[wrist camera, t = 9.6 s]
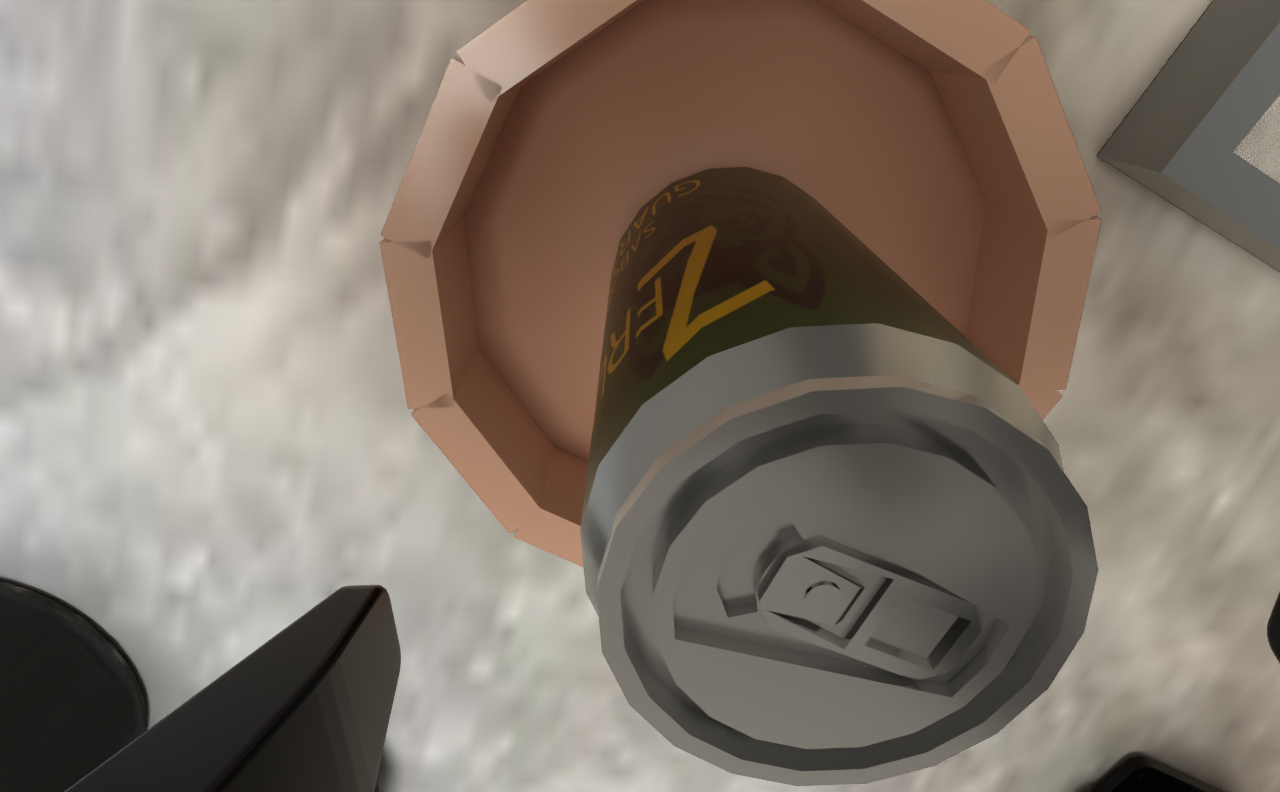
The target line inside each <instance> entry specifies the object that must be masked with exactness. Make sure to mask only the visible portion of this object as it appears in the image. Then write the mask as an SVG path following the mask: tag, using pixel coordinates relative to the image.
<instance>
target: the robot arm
mask: <svg viewBox="0 0 1280 792" xmlns="http://www.w3.org/2000/svg"><path fill="white" fill-rule="evenodd" d="M1267 637H1268V642H1269V644H1270V647H1271V649H1272V651H1273V653H1274V655H1275V656H1276V658H1277V660H1278V661H1279V663H1280V592H1279V594H1278V597H1277V600H1276V602H1275V605H1274V607H1273V610H1272V613H1271V615H1270V618H1269V621H1268V624H1267ZM400 664H401V652H400V645H399V640H398V635H397V630H396V625H395V620H394V616H393V611H392V606H391V601H390V597H389V594H388V592H387V591H386V589H385V588H383V587H382V586H380V585H356V586H345V587H342V588H340V589H339V590H337V591H335V592H334V593H333V594H331V595H330V596H329V597H327V598H326V599H325V600H323V601H322V602H321V603H319V604H318V605H317V606H315V607H314V608H312V609H311V610H310V611H308V612H307V613H306V614H304V615H303V616H302V617H300V618H299V619H298V620H296V621H295V622H293V623H292V624H291V625H289V626H288V627H287V628H285V629H284V630H283V631H281V632H280V633H279V634H277V635H276V636H275V637H273V638H272V639H270V640H269V641H268V642H266V643H265V644H264V645H262V646H261V647H260V648H258V649H257V650H256V651H254V652H253V653H251V654H250V655H249V656H247V657H246V658H245V659H243V660H242V661H241V662H239V663H238V664H237V665H235V666H234V667H232V668H231V669H230V670H228V671H227V672H226V673H224V674H223V675H222V676H220V677H219V678H218V679H216V680H215V681H214V682H212V683H211V684H209V685H208V686H207V687H205V688H204V689H203V690H201V691H200V692H199V693H197V694H196V695H195V696H193V697H192V698H190V699H189V700H188V701H186V702H185V703H184V704H182V705H181V706H180V707H178V708H177V709H176V710H174V711H173V712H172V713H170V714H169V715H167V716H166V717H165V718H163V719H162V720H161V721H159V722H158V723H157V724H155V725H154V726H153V727H151V728H150V729H148V730H147V731H146V732H144V733H143V734H142V735H140V736H139V737H138V738H136V739H135V740H134V741H132V742H131V743H129V744H128V745H127V746H125V747H124V748H123V749H121V750H120V751H119V752H117V753H116V754H115V755H113V756H112V757H111V758H109V759H108V760H106V761H105V762H104V763H102V764H101V765H100V766H98V767H97V768H96V769H94V770H93V771H92V772H90V773H89V774H87V775H86V776H85V777H83V778H82V779H81V780H79V781H78V782H77V783H75V784H74V785H73V786H71V787H70V788H68V789H67V790H66V791H64V792H374V788H375V783H376V779H377V774H378V770H379V765H380V760H381V756H382V751H383V747H384V742H385V737H386V733H387V728H388V723H389V719H390V714H391V710H392V705H393V700H394V696H395V691H396V687H397V682H398V677H399V672H400ZM1093 792H1222V791H1219V790H1217V789H1215V788H1213V787H1211V786H1208V785H1206V784H1204V783H1202V782H1199V781H1197V780H1195V779H1193V778H1190V777H1188V776H1186V775H1184V774H1182V773H1179V772H1177V771H1175V770H1173V769H1170V768H1168V767H1166V766H1164V765H1161V764H1159V763H1157V762H1155V761H1153V760H1150V759H1148V758H1145V757H1135V758H1132V759H1130V760H1128V761H1127V762H1125V763H1124V764H1123V765H1122V766H1121V767H1120V768H1118V769H1117V770H1116V771H1115V772H1114V773H1113V774H1112V775H1111V776H1110V777H1108V778H1107V779H1106V780H1105V781H1104V782H1103V783H1102V784H1101V785H1100V786H1099V787H1097V788H1096V789H1095V790H1094V791H1093Z"/></svg>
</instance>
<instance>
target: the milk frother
mask: <svg viewBox="0 0 1280 792" xmlns="http://www.w3.org/2000/svg"><path fill="white" fill-rule="evenodd" d="M145 718H146V713H145V703H144V697H143V695H142V691H141V689H140V686H139V684H138V682H137V679H136V677H135V675H134V673H133V671H132V670H131V668H130V667H129V665H128V663H127V662H126V661H125V660H124V658H123V657H122V656H121V655H120V653H119V652H118V651H117V649H116V648H115V647H114V645H113V644H112V643H110V642H109V641H108V640H107V639H105V637H104V636H102V635H101V634H100V633H99V632H98V631H97V630H96V629H95V627H94V626H92V625H91V624H90V623H88V622H87V621H86V620H84V619H83V618H82V617H80V616H79V615H77V614H76V613H74V612H73V611H72V610H70V609H68V608H66V607H64V606H63V605H61V604H59V603H58V602H56V601H55V600H53V599H50V598H48V597H46V596H43V595H41V594H39V593H36V592H34V591H32V590H29V589H26V588H23V587H18V586H15V585H13V584H11V583H8V582H3V581H0V792H64V791H66V790H67V789H68V788H70V787H71V786H73V785H74V784H75V783H77V782H78V781H79V780H81V779H82V778H83V777H85V776H86V775H87V774H89V773H90V772H92V771H93V770H94V769H96V768H97V767H98V766H100V765H101V764H102V763H104V762H105V761H106V760H108V759H109V758H111V757H112V756H113V755H115V754H116V753H117V752H119V751H120V750H121V749H123V748H124V747H125V746H127V745H128V744H129V743H131V742H132V741H134V740H135V739H136V738H138V737H139V736H140V735H142V734H143V733H144V732H145V728H146V723H145ZM374 792H379V788H378V785H377V781H376V783H375V788H374Z"/></svg>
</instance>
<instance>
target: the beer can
mask: <svg viewBox="0 0 1280 792" xmlns="http://www.w3.org/2000/svg"><path fill="white" fill-rule="evenodd" d="M580 535H581V545H582V555H583V565H584V575H585V585H586V593H587V595H588V597H589V599H590V601H591V603H592V605H593V607H594V609H595V611H596V613H597V615H598V617H599V624H600V635H601V645H602V653H603V655H604V657H605V659H606V661H607V663H608V664H609V666H610V668H611V670H612V672H613V674H614V676H615V678H616V680H617V682H618V684H619V686H620V687H621V689H622V691H623V693H624V695H625V697H626V699H627V701H628V703H629V705H630V706H631V707H632V708H633V709H635V710H636V711H637V712H638V713H639V714H640V715H641V716H642V717H643V718H644V719H645V720H647V721H648V722H649V723H650V724H651V725H652V726H653V727H654V728H655V729H656V730H657V731H659V732H660V733H661V734H662V735H663V736H664V737H665V738H666V739H667V740H668V741H669V742H671V743H672V744H673V745H674V746H675V747H678V748H680V749H682V750H684V751H686V752H688V753H690V754H692V755H694V756H696V757H698V758H701V759H703V760H705V761H707V762H709V763H711V764H713V765H715V766H717V767H719V768H722V769H724V770H726V771H728V772H730V773H732V774H738V775H743V776H748V777H753V778H758V779H763V780H769V781H774V782H779V783H784V784H789V785H794V786H812V785H839V784H866V783H870V782H874V781H878V780H882V779H885V778H889V777H893V776H897V775H901V774H905V773H908V772H912V771H916V770H920V769H924V768H928V767H932V766H935V765H937V764H939V763H941V762H943V761H944V760H946V759H948V758H950V757H952V756H954V755H956V754H958V753H960V752H962V751H964V750H966V749H968V748H970V747H972V746H974V745H975V744H977V743H979V742H981V741H983V740H985V739H987V738H989V737H991V736H993V735H995V734H997V733H998V732H999V731H1000V730H1001V729H1002V728H1004V727H1005V726H1006V725H1007V724H1008V723H1009V722H1010V721H1012V720H1013V719H1014V718H1015V717H1016V716H1017V715H1018V714H1019V713H1021V712H1022V711H1023V710H1024V709H1025V708H1026V707H1027V706H1029V705H1030V704H1031V703H1032V702H1033V701H1034V700H1035V699H1037V698H1038V697H1039V696H1040V695H1041V694H1042V693H1043V692H1045V691H1046V690H1047V689H1048V688H1049V686H1050V685H1051V683H1052V682H1053V680H1054V678H1055V677H1056V675H1057V674H1058V672H1059V671H1060V669H1061V667H1062V666H1063V664H1064V663H1065V661H1066V660H1067V658H1068V656H1069V655H1070V653H1071V652H1072V650H1073V649H1074V647H1075V645H1076V644H1077V642H1078V641H1079V639H1080V638H1081V636H1082V634H1083V633H1084V629H1085V625H1086V620H1087V616H1088V612H1089V607H1090V603H1091V599H1092V594H1093V590H1094V585H1095V581H1096V577H1097V572H1098V567H1097V561H1096V555H1095V550H1094V544H1093V538H1092V533H1091V527H1090V521H1089V516H1088V510H1087V506H1086V504H1085V503H1084V501H1083V500H1082V499H1081V497H1080V496H1079V494H1078V493H1077V491H1076V490H1075V488H1074V487H1073V485H1072V484H1071V482H1070V481H1069V479H1068V478H1067V476H1066V475H1065V473H1064V471H1063V466H1062V460H1061V455H1060V449H1059V444H1058V443H1057V441H1056V440H1055V438H1054V437H1053V435H1052V434H1051V432H1050V431H1049V429H1048V428H1047V426H1046V425H1045V423H1044V422H1043V420H1042V419H1041V417H1040V416H1039V414H1038V413H1037V411H1036V410H1035V408H1034V407H1033V405H1032V404H1031V402H1030V401H1029V399H1028V398H1027V396H1026V395H1025V393H1024V392H1023V390H1022V389H1021V387H1020V386H1019V385H1018V384H1016V383H1015V382H1014V381H1013V380H1012V379H1011V378H1010V377H1009V376H1008V375H1007V374H1005V373H1004V372H1003V371H1002V370H1001V369H1000V368H999V367H998V366H997V365H996V364H995V363H993V362H992V361H991V360H990V359H989V358H988V357H987V356H986V355H985V354H984V353H983V352H981V351H980V350H979V349H978V348H977V347H976V346H975V345H974V344H973V343H972V342H971V341H969V340H968V339H967V338H966V337H965V336H964V335H963V334H962V333H961V332H960V331H959V330H957V329H956V328H955V327H954V326H953V325H952V324H951V323H950V322H949V321H948V320H947V319H945V318H944V317H943V316H942V315H941V314H940V313H939V312H938V311H937V310H936V309H935V308H933V307H932V306H931V305H930V304H929V303H928V302H927V301H926V300H925V299H924V298H923V297H921V296H920V295H919V294H918V293H917V292H916V291H915V290H914V289H913V288H912V287H911V286H909V285H908V284H907V283H906V282H905V281H904V280H903V279H902V278H901V277H900V276H899V275H897V274H896V273H895V272H894V271H893V270H892V269H891V268H890V267H889V266H888V265H887V264H885V263H884V262H883V261H882V260H881V259H880V258H879V257H878V256H877V255H876V254H875V253H873V252H872V251H871V250H870V249H869V248H868V247H867V246H866V245H865V244H864V243H863V242H861V241H860V240H859V239H858V238H857V237H856V236H855V235H854V234H853V233H852V232H851V231H849V230H848V229H847V228H846V227H845V226H844V225H843V224H842V223H841V222H840V221H839V220H837V219H836V218H835V217H834V216H833V215H832V214H831V213H830V212H829V211H828V210H827V209H825V208H824V207H823V206H822V205H821V204H820V203H819V202H818V201H817V200H816V199H814V198H813V197H812V196H810V195H809V194H807V193H806V192H805V191H803V190H802V189H800V188H799V187H797V186H796V185H795V184H793V183H792V182H790V181H789V180H787V179H786V178H784V177H782V176H778V175H775V174H771V173H768V172H764V171H761V170H757V169H753V168H750V167H731V168H712V169H706V170H703V171H701V172H698V173H696V174H693V175H690V176H688V177H685V178H683V179H680V180H678V181H675V182H673V183H671V184H669V185H668V186H667V187H666V188H664V189H663V190H662V191H661V192H660V193H658V194H657V195H656V196H655V197H653V198H652V199H651V200H650V201H649V202H647V203H646V204H645V205H644V206H642V207H641V208H640V210H639V211H638V213H637V215H636V216H635V218H634V219H633V221H632V222H631V224H630V225H629V227H628V229H627V230H626V232H625V233H624V235H623V236H622V238H621V239H620V243H619V247H618V251H617V255H616V259H615V262H614V266H613V270H612V274H611V281H610V289H609V298H608V306H607V314H606V322H605V330H604V339H603V347H602V355H601V363H600V371H599V380H598V388H597V396H596V404H595V412H594V421H593V429H592V437H591V445H590V453H589V462H588V470H587V478H586V486H585V494H584V503H583V511H582V519H581V527H580Z"/></svg>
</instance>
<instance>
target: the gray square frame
mask: <svg viewBox="0 0 1280 792" xmlns="http://www.w3.org/2000/svg"><path fill="white" fill-rule="evenodd" d="M1279 95H1280V0H1214V1H1213V2H1212V3H1211V5H1210V6H1209V7H1208V9H1207V10H1206V11H1205V13H1204V14H1203V15H1202V17H1201V18H1200V19H1199V21H1198V22H1197V23H1196V25H1195V26H1194V27H1193V29H1192V30H1191V31H1190V33H1189V34H1188V35H1187V37H1186V38H1185V39H1184V41H1183V42H1182V43H1181V45H1180V46H1179V47H1178V49H1177V50H1176V51H1175V53H1174V54H1173V55H1172V57H1171V58H1170V59H1169V61H1168V62H1167V63H1166V65H1165V66H1164V67H1163V69H1162V70H1161V71H1160V73H1159V74H1158V75H1157V77H1156V78H1155V79H1154V81H1153V82H1152V83H1151V85H1150V86H1149V87H1148V89H1147V90H1146V91H1145V93H1144V94H1143V95H1142V97H1141V98H1140V99H1139V101H1138V102H1137V103H1136V105H1135V106H1134V107H1133V109H1132V110H1131V111H1130V113H1129V114H1128V115H1127V117H1126V118H1125V119H1124V121H1123V122H1122V123H1121V125H1120V126H1119V127H1118V129H1117V130H1116V131H1115V133H1114V134H1113V135H1112V137H1111V138H1110V139H1109V141H1108V142H1107V143H1106V145H1105V146H1104V147H1103V149H1102V150H1101V151H1100V153H1099V154H1098V155H1097V156H1098V157H1099V158H1101V159H1103V160H1104V161H1106V162H1107V163H1109V164H1110V165H1112V166H1114V167H1115V168H1117V169H1118V170H1120V171H1121V172H1123V173H1125V174H1126V175H1128V176H1129V177H1131V178H1132V179H1134V180H1136V181H1137V182H1139V183H1140V184H1142V185H1143V186H1145V187H1147V188H1148V189H1150V190H1151V191H1153V192H1154V193H1156V194H1158V195H1159V196H1161V197H1162V198H1164V199H1165V200H1167V201H1169V202H1170V203H1172V204H1173V205H1175V206H1176V207H1178V208H1180V209H1181V210H1183V211H1184V212H1186V213H1187V214H1189V215H1191V216H1192V217H1194V218H1195V219H1197V220H1198V221H1200V222H1202V223H1203V224H1205V225H1206V226H1208V227H1209V228H1211V229H1213V230H1214V231H1216V232H1217V233H1219V234H1220V235H1222V236H1224V237H1225V238H1227V239H1228V240H1230V241H1231V242H1233V243H1235V244H1236V245H1238V246H1239V247H1241V248H1243V249H1244V250H1246V251H1247V252H1249V253H1250V254H1252V255H1254V256H1255V257H1257V258H1258V259H1260V260H1261V261H1263V262H1265V263H1266V264H1268V265H1269V266H1271V267H1272V268H1274V269H1276V270H1277V271H1279V272H1280V184H1279V183H1278V182H1276V181H1275V180H1273V179H1272V178H1270V177H1269V176H1267V175H1266V174H1264V173H1263V172H1261V171H1260V170H1258V169H1257V168H1255V167H1254V166H1252V165H1251V164H1249V163H1248V162H1246V161H1245V160H1243V159H1242V158H1240V157H1239V156H1237V155H1236V154H1234V153H1233V151H1234V150H1235V149H1236V147H1237V146H1238V145H1239V144H1240V142H1241V141H1242V140H1243V139H1244V138H1245V136H1246V135H1247V134H1248V133H1249V131H1250V130H1251V129H1252V128H1253V126H1254V125H1255V124H1256V123H1257V122H1258V120H1259V119H1260V118H1261V117H1262V115H1263V114H1264V113H1265V112H1266V111H1267V109H1268V108H1269V107H1270V106H1271V104H1272V103H1273V102H1274V101H1275V100H1276V98H1277V97H1278V96H1279Z"/></svg>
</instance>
